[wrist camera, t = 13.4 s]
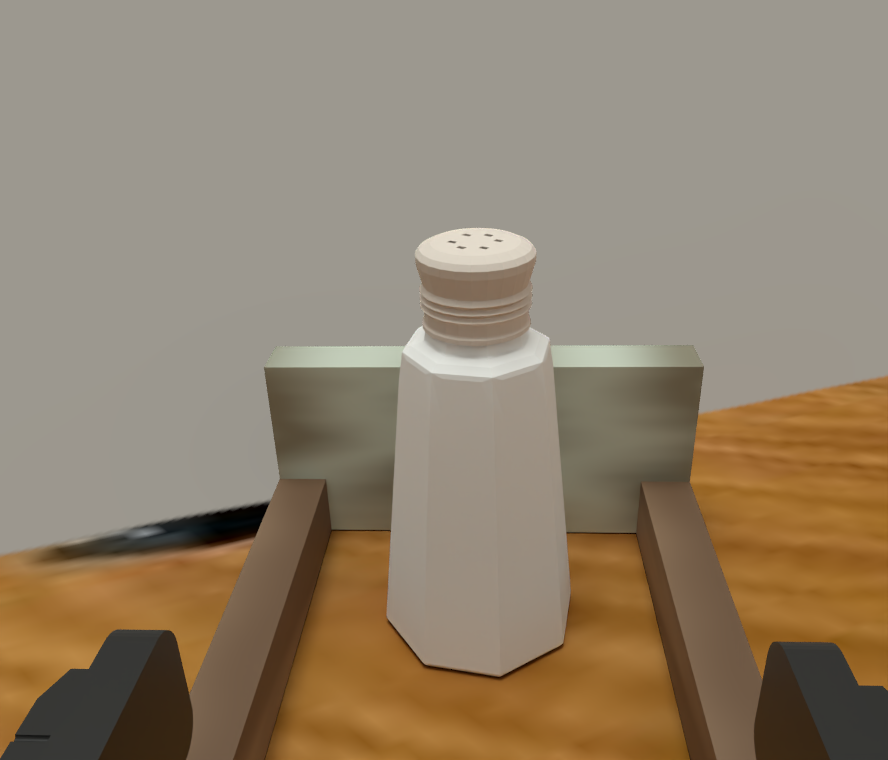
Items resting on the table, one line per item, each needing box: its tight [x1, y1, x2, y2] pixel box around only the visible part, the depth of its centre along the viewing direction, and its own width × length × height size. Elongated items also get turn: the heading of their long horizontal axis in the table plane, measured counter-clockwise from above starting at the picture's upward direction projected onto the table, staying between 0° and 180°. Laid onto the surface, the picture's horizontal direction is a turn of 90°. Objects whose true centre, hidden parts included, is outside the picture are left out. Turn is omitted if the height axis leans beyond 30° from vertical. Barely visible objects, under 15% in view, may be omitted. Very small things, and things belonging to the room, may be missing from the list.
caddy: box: [186, 345, 762, 760], centre depth 20 cm, size 13×16×6 cm
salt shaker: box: [387, 228, 571, 677], centre depth 22 cm, size 5×5×11 cm
